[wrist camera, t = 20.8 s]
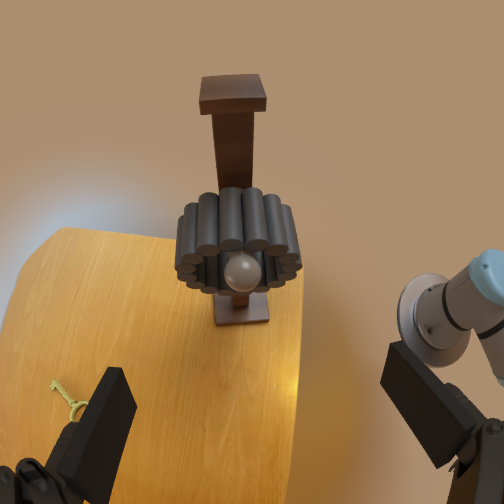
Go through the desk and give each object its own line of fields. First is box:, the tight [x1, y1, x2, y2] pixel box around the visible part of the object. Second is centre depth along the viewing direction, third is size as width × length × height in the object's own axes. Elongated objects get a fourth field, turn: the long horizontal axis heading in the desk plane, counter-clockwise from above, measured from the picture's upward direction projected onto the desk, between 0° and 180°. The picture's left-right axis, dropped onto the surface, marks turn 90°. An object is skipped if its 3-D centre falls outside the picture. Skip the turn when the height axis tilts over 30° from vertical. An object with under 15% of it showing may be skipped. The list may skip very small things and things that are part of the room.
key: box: [49, 379, 89, 422], centre depth 39 cm, size 7×12×2 cm, turn 72°
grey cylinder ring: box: [175, 187, 302, 296], centre depth 25 cm, size 5×11×11 cm, turn 94°
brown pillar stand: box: [199, 74, 269, 326], centre depth 33 cm, size 14×10×42 cm
